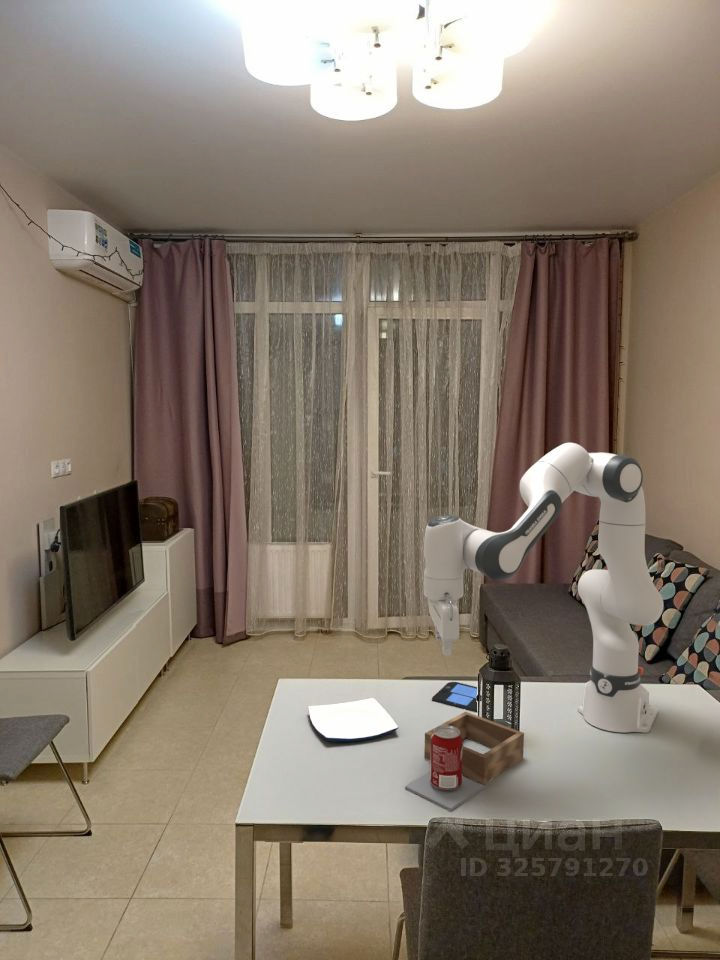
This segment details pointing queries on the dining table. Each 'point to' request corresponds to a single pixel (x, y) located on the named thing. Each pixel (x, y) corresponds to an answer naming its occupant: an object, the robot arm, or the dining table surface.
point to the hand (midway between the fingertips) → (443, 647)
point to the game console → (457, 696)
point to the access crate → (488, 733)
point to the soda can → (446, 758)
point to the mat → (441, 797)
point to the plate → (351, 720)
